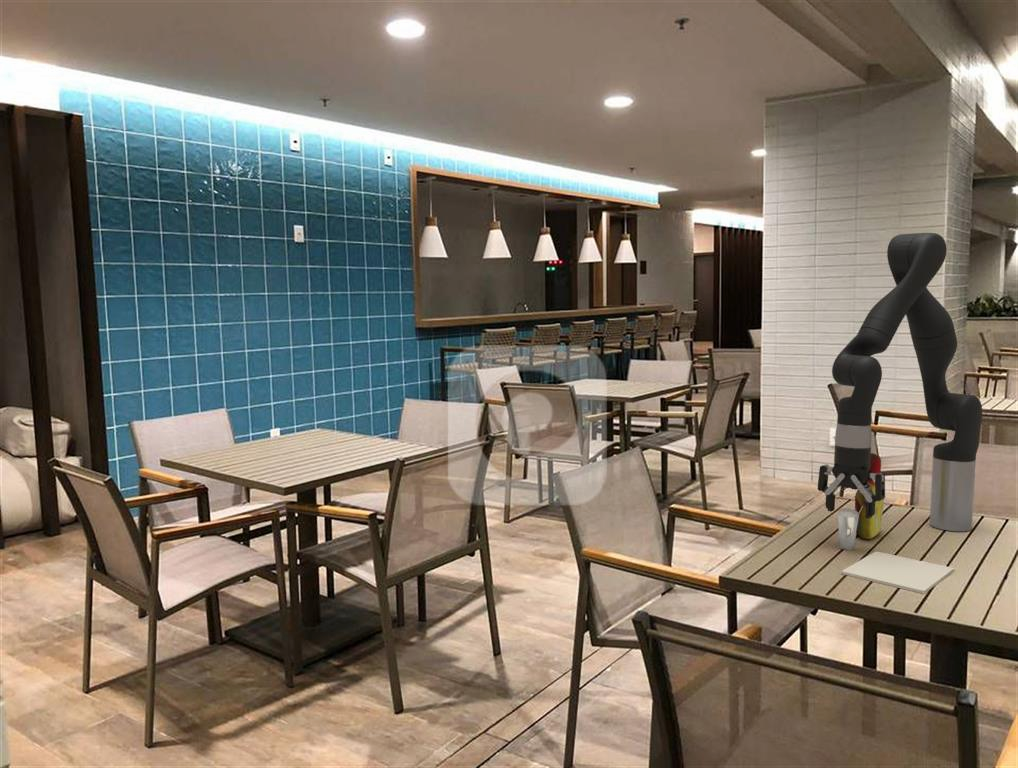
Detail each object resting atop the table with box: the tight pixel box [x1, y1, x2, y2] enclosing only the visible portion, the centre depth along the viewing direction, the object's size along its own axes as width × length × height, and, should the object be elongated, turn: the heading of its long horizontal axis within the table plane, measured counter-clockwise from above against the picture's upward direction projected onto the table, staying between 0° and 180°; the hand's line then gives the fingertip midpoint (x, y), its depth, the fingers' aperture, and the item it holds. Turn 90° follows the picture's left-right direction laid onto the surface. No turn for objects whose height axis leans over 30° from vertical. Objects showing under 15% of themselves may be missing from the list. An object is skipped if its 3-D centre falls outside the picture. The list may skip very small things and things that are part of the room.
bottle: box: [854, 452, 885, 540], centre depth 191 cm, size 12×6×20 cm, turn 150°
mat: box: [841, 550, 955, 595], centre depth 166 cm, size 18×16×1 cm
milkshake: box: [837, 506, 863, 551], centre depth 182 cm, size 5×5×10 cm
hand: (849, 514), depth 181 cm, fingers open, 8 cm apart
